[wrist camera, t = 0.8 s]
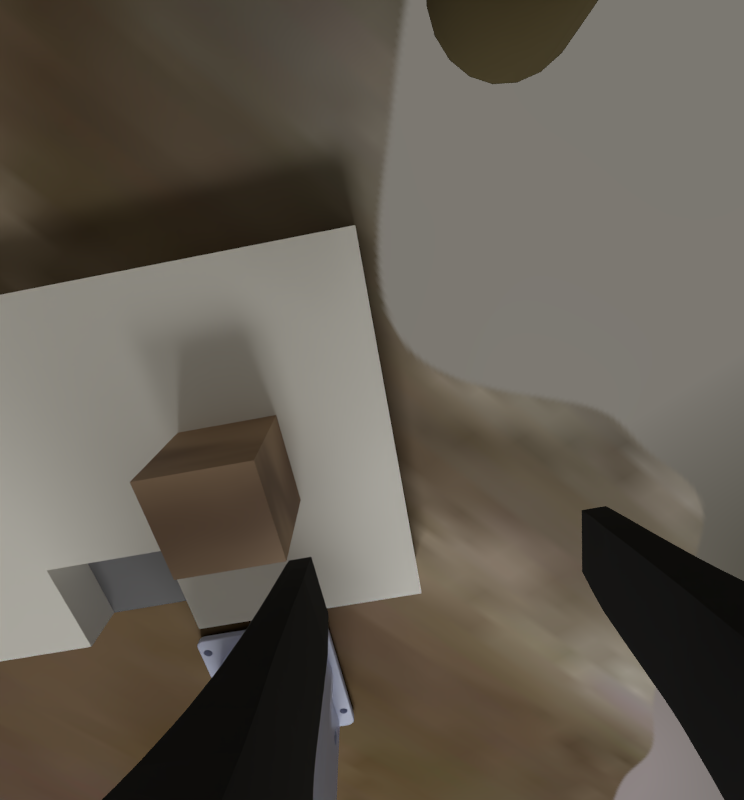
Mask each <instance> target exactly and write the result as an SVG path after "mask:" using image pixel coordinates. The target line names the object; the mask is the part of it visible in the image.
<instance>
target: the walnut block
mask: <svg viewBox="0 0 744 800" xmlns="http://www.w3.org/2000/svg"><path fill="white" fill-rule="evenodd" d="M130 484H131V486H132V489H133V491H134V493H135V495H136V497H137V500H138V502H139V504H140V506H141V508H142V511H143V513H144V515H145V517H146V519H147V522H148V524H149V526H150V528H151V530H152V533H153V535H154V537H155V539H156V541H157V544H158V546H159V548H160V550H161V552H162V555H163V557H164V559H165V561H166V564H167V566H168V568H169V570H170V572H171V575H172V577H173V579H174V580H178V579H184V578H190V577H196V576H202V575H208V574H214V573H220V572H226V571H232V570H238V569H244V568H250V567H256V566H262V565H268V564H274V563H280V562H286V561H287V557H288V553H289V548H290V544H291V540H292V535H293V531H294V527H295V522H296V518H297V514H298V509H299V505H300V501H301V499H300V496H299V493H298V489H297V486H296V482H295V479H294V475H293V472H292V468H291V465H290V461H289V458H288V454H287V451H286V447H285V444H284V440H283V437H282V433H281V430H280V426H279V423H278V419H277V416H276V415H273V416H268V417H262V418H257V419H251V420H246V421H240V422H234V423H229V424H223V425H218V426H212V427H207V428H201V429H196V430H190V431H185V432H179V433H177V434H176V435H175V436H174V437H173V438H172V439H171V440H170V441H169V442H168V443H167V444H166V445H165V446H164V447H163V448H162V449H161V450H160V451H159V452H158V454H157V455H156V456H155V457H154V458H153V459H152V460H151V461H150V462H149V463H148V464H147V465H146V466H145V467H144V468H143V469H142V470H141V471H140V472H139V473H138V474H137V475H136V476H135V477H134V478H133V479H132V480H131V481H130Z"/></svg>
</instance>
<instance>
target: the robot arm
mask: <svg viewBox="0 0 744 800" xmlns="http://www.w3.org/2000/svg"><path fill="white" fill-rule="evenodd" d="M582 572H583V574H584V576H585V578H586V580H587V581H588V583H589V585H590V587H591V589H592V591H593V593H594V595H595V597H596V598H597V600H598V602H599V604H600V606H601V607H602V609H603V611H604V612H605V614H606V615H607V617H608V618H609V620H610V621H611V623H612V624H613V626H614V627H615V628H616V630H617V631H618V633H619V634H620V636H621V637H622V639H623V640H624V642H625V643H626V644H627V646H628V647H629V649H630V650H631V652H632V653H633V655H634V656H635V657H636V659H637V660H638V662H639V663H640V665H641V666H642V667H643V669H644V670H645V672H646V673H647V675H648V676H649V677H650V679H651V680H652V682H653V683H654V685H655V686H656V688H657V689H658V690H659V692H660V693H661V695H662V696H663V697H664V699H665V700H666V702H667V703H668V705H669V707H670V708H671V709H672V711H673V712H674V714H675V716H676V717H677V719H678V720H679V722H680V724H681V725H682V727H683V728H684V730H685V732H686V734H687V735H688V737H689V739H690V740H691V742H692V744H693V746H694V747H695V749H696V751H697V752H698V754H699V756H700V758H701V759H702V761H703V763H704V765H705V766H706V768H707V769H708V771H709V773H710V775H711V776H712V778H713V780H714V782H715V784H716V785H717V787H718V789H719V791H720V793H721V794H722V796H723V798H724V800H744V581H742V580H740V579H738V578H736V577H734V576H732V575H730V574H728V573H726V572H724V571H722V570H720V569H718V568H716V567H714V566H712V565H710V564H709V563H706V562H705V561H703V560H701V559H699V558H697V557H695V556H694V555H692V554H690V553H688V552H686V551H684V550H682V549H681V548H679V547H677V546H675V545H673V544H672V543H670V542H668V541H666V540H665V539H663V538H661V537H659V536H657V535H656V534H654V533H652V532H650V531H649V530H647V529H645V528H643V527H642V526H640V525H638V524H636V523H635V522H633V521H631V520H630V519H628V518H626V517H624V516H622V515H621V514H619V513H617V512H615V511H614V510H612V509H610V508H608V507H606V506H605V507H599V508H593V509H587V510H582ZM197 646H198V649H199V651H200V654H201V656H202V658H203V660H204V662H205V664H206V667H207V669H208V671H209V673H210V675H211V677H212V678H211V680H210V681H209V682H208V683H207V685H206V686H205V687H204V689H203V690H202V691H201V692H200V694H199V695H198V696H197V697H196V699H195V700H194V701H193V702H192V703H191V705H190V706H189V707H188V708H187V710H186V711H185V712H184V713H183V714H182V715H181V717H180V718H179V719H178V720H177V721H176V722H175V724H174V725H173V726H172V727H171V728H170V729H169V730H168V731H167V732H166V733H165V735H164V736H163V737H162V738H161V739H160V740H159V741H158V742H157V743H156V744H155V746H154V747H153V748H152V749H151V750H150V751H149V752H148V753H147V754H146V756H145V757H144V758H143V759H142V760H141V761H140V762H139V763H138V764H137V765H136V766H135V767H134V768H133V769H132V770H131V771H130V772H129V773H128V774H127V775H126V776H125V777H124V778H123V779H122V780H121V781H120V782H119V783H118V784H117V786H116V787H115V788H114V789H113V790H111V791H110V792H109V793H108V794H107V795H106V796H105V797H104V798H103V799H102V800H337V777H338V753H339V729H340V726H344V725H350V724H351V723H353V721H354V713H353V709H352V706H351V702H350V699H349V696H348V692H347V689H346V686H345V682H344V679H343V676H342V672H341V669H340V665H339V662H338V659H337V655H336V652H335V649H334V645H333V642H332V639H331V635H330V632H329V629H328V611H327V608H326V604H325V601H324V598H323V594H322V591H321V588H320V584H319V581H318V577H317V574H316V571H315V567H314V564H313V561H312V557H306V558H301V559H295V560H289V561H288V563H287V564H286V565H285V567H284V569H283V570H282V572H281V574H280V576H279V577H278V579H277V581H276V582H275V584H274V586H273V587H272V589H271V591H270V592H269V594H268V596H267V597H266V599H265V600H264V602H263V604H262V605H261V607H260V609H259V610H258V612H257V613H256V615H255V616H254V618H253V619H252V621H251V623H250V624H249V626H248V627H247V629H246V630H241V631H235V632H229V633H222V634H216V635H210V636H205V637H202V638H201V639H200V640H199V643H198V645H197Z"/></svg>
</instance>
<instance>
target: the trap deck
mask: <svg viewBox="0 0 744 800" xmlns="http://www.w3.org/2000/svg"><path fill="white" fill-rule="evenodd" d="M273 415H276V416H277V419H278V423H279V426H280V430H281V433H282V437H283V440H284V444H285V447H286V451H287V454H288V458H289V461H290V465H291V468H292V472H293V475H294V479H295V482H296V486H297V489H298V493H299V496H300V499H301V501H300V505H299V509H298V514H297V518H296V522H295V527H294V531H293V535H292V540H291V544H290V548H289V553H288V557H287V561H286V562H280V563H274V564H268V565H262V566H256V567H250V568H244V569H238V570H232V571H226V572H220V573H214V574H208V575H202V576H196V577H190V578H184V579H178V580H174V579H173V577H172V575H171V572H170V570H169V568H168V566H167V564H166V561H165V559H164V557H163V555H162V552H161V550H160V548H159V546H158V544H157V541H156V539H155V537H154V535H153V533H152V530H151V528H150V526H149V524H148V522H147V519H146V517H145V515H144V513H143V511H142V508H141V506H140V504H139V502H138V500H137V497H136V495H135V493H134V491H133V489H132V486H131V484H130V481H131V480H132V479H133V478H134V477H135V476H136V475H137V474H138V473H139V472H140V471H141V470H142V469H143V468H144V467H145V466H146V465H147V464H148V463H149V462H150V461H151V460H152V459H153V458H154V457H155V456H156V455H157V454H158V452H159V451H160V450H161V449H162V448H163V447H164V446H165V445H166V444H167V443H168V442H169V441H170V440H171V439H172V438H173V437H174V436H175V435H176V434H177V433H179V432H185V431H190V430H196V429H201V428H207V427H212V426H218V425H223V424H229V423H234V422H240V421H246V420H251V419H257V418H262V417H268V416H273ZM306 557H312V561H313V564H314V567H315V571H316V574H317V577H318V581H319V584H320V588H321V591H322V594H323V598H324V601H325V604H326V608H333V607H339V606H345V605H351V604H358V603H364V602H370V601H376V600H382V599H389V598H395V597H401V596H407V595H413V594H419V593H421V587H420V581H419V576H418V570H417V565H416V559H415V553H414V548H413V542H412V537H411V531H410V526H409V520H408V515H407V509H406V504H405V498H404V493H403V487H402V481H401V476H400V470H399V465H398V459H397V454H396V448H395V443H394V437H393V432H392V426H391V421H390V415H389V410H388V404H387V398H386V393H385V387H384V382H383V376H382V371H381V365H380V360H379V354H378V349H377V343H376V338H375V332H374V326H373V321H372V315H371V310H370V304H369V299H368V293H367V288H366V282H365V277H364V271H363V266H362V260H361V255H360V249H359V243H358V238H357V232H356V227H355V225H353V226H348V227H343V228H338V229H333V230H327V231H322V232H317V233H312V234H307V235H302V236H297V237H292V238H287V239H282V240H277V241H271V242H266V243H261V244H256V245H251V246H246V247H241V248H236V249H231V250H226V251H220V252H215V253H210V254H205V255H200V256H195V257H190V258H185V259H180V260H175V261H170V262H164V263H159V264H154V265H149V266H144V267H139V268H134V269H129V270H124V271H119V272H114V273H108V274H103V275H98V276H93V277H88V278H83V279H78V280H73V281H68V282H63V283H57V284H52V285H47V286H42V287H37V288H32V289H27V290H22V291H17V292H12V293H7V294H1V295H0V661H5V660H12V659H18V658H24V657H30V656H36V655H42V654H49V653H55V652H61V651H67V650H73V649H79V648H86V647H91V646H92V645H93V643H94V642H95V640H96V639H97V637H98V636H99V634H100V633H101V631H102V630H103V628H104V627H105V625H106V624H107V623H108V621H109V620H110V618H111V617H112V615H113V614H114V612H120V611H126V610H132V609H138V608H144V607H150V606H157V605H163V604H169V603H175V602H181V601H187V603H188V605H189V607H190V610H191V612H192V614H193V616H194V619H195V621H196V623H197V625H198V627H199V629H203V628H209V627H215V626H222V625H228V624H234V623H240V622H246V621H252V619H253V618H254V616H255V615H256V613H257V612H258V610H259V609H260V607H261V605H262V604H263V602H264V600H265V599H266V597H267V596H268V594H269V592H270V591H271V589H272V587H273V586H274V584H275V582H276V581H277V579H278V577H279V576H280V574H281V572H282V570H283V569H284V567H285V565H286V564H287V563H288V561H289V560H295V559H301V558H306Z"/></svg>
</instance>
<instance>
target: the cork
mask: <svg viewBox="0 0 744 800" xmlns="http://www.w3.org/2000/svg"><path fill="white" fill-rule="evenodd" d="M597 1H598V0H427V9H428V12H429V16H430V20H431V23H432V27H433V31H434V35H435V37H436V38H437V40H438V41H439V43H440V45H441V47H442V48H443V50H444V51H445V53H446V55H447V56H448V58H449V60H450V61H452V62H453V63H454V64H455V65H456V66H458V67H459V68H460V69H461V70H463V71H464V72H465V73H466V74H467V75H468V76H470V77H473V78H476V79H479V80H482V81H485V82H488V83H491V84H500V83H516V82H519V81H521V80H523V79H526V78H528V77H530V76H532V75H535V74H537V73H539V72H541V71H542V70H543V69H544V68H545V67H547V66H548V65H549V64H550V63H551V62H552V61H553V60H554V59H555V58H557V57H558V56H559V55H560V54H561V53H562V52H563V50H564V49H565V48H566V46H567V45H568V43H569V42H570V40H571V39H572V37H573V36H574V35H575V33H576V32H577V30H578V29H579V27H580V26H581V25H582V23H583V22H584V20H585V19H586V17H587V16H588V14H589V13H590V12H591V10H592V9H593V7H594V6H595V4H596V3H597Z"/></svg>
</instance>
